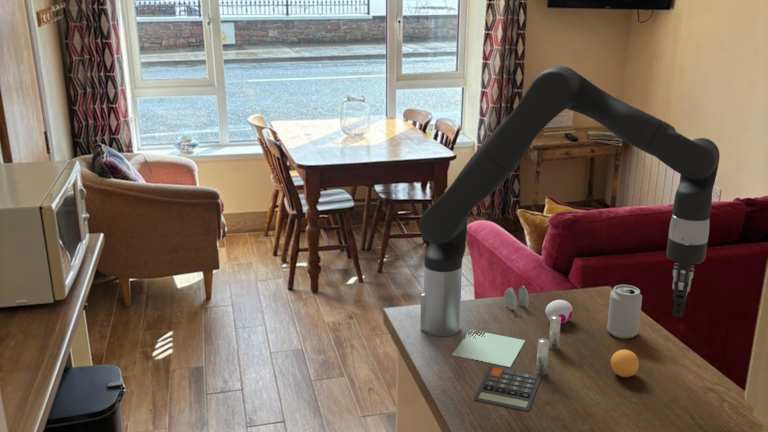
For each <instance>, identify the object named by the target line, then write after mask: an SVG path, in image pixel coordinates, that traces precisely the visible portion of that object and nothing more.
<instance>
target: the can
mask: <svg viewBox="0 0 768 432" xmlns="http://www.w3.org/2000/svg"><path fill="white" fill-rule="evenodd" d="M642 303H643V295H642V294H641V290H640V289H639V288H638V287H636V286H635V285H634V286H633V285H629V284H618V285H615V286H614V287H613V289H612V291H611V292H610V295H609V303H608V304H609V305H608V314H607V324H606V330H607V331H608V332H609V333H610V335H612V336H613V337H615V338H618V339H623V340H624V339H625V340H626V339H632V338H634V337H636V336H637V335H638V334H639V328H640V321H641V312H642V311H641V310H642Z"/></svg>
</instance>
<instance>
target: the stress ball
mask: <svg viewBox="0 0 768 432" xmlns="http://www.w3.org/2000/svg"><path fill="white" fill-rule="evenodd" d="M572 306H573V305H572V304H570V302H568V301H566V300H564V299H556V300H552V301H550V303H549V304H547V306H546V307H545V312H544V314H545V318H546V319H547V320H548V321H549V322H550V320H551V316H553V315H557V316H560V317H561V324H562V325H564V326H567V327H568V325H567V324H566V323H567V322H568V321H569V320H570V319H571V318H572V317H573V314H574V310H573V307H572Z"/></svg>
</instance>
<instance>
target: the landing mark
mask: <svg viewBox="0 0 768 432" xmlns="http://www.w3.org/2000/svg"><path fill="white" fill-rule="evenodd" d="M471 330H473V329H470V330H469V331H471ZM473 332H474V330H473ZM482 332H483V333H484V331H482ZM483 333H482V334H483ZM472 334H473V333H472ZM472 334H471V335H472ZM479 334H480V333H479ZM479 334H478V335H479ZM482 334H481V335H480V336H478V335H476V334H474V335H473V336H471V335H469V336H468V333H466V335H465V337H466V338H465V337H464V338H465V339H464V338H463V339H462V340H461V342H460V343H459V345H458V346H457V347H456V349H455V350H454V351H453V352H452V354H451V355H452V356H453V357H458V358H463V359H468V360H472V359H473V361H476V360H478V362H481V361H483V362H482V363H487V364H492V365H497V366H501V367H506V368H511V367H512V365H513V364H514V362H515V360H516V359H517V356H518V355H519V353H520V351H521V350H522V348H523V346H524V345H525V343H526V340H524V339H520V338H515V337H510V336H505V335H499V334H494V333H490V332H489V333H488V332H485V334H484V335H483V336H482ZM475 335H476V336H475ZM467 336H468V337H467ZM470 336H471V337H470ZM474 336H475V337H474ZM481 336H482V337H481ZM484 336H485V337H484ZM469 337H470V338H469ZM473 337H474V338H473ZM475 338H476V339H475Z"/></svg>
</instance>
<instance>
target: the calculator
mask: <svg viewBox="0 0 768 432" xmlns="http://www.w3.org/2000/svg"><path fill="white" fill-rule="evenodd" d="M541 380H542V376H541V375H538V374H536V373H535V374H534V373H530V372H525V371H518V370H513V369H507V368H502V367H496V366H493V365H492V366H490V367H489V369H488V370H487V372H486V374H485V375H484V378H483V380H482V382H481V384H480V386H479V387H478V390H477V392H476V394H475V395H474V397H473V401H474V402H478V403H479V402H480V403H483V404H488V405H493V406H497V407H498V406H499V407H504V408H508V409H512V410H517V411H523V412H529V411H530V409H531V405H532V403H533V401H534V399H535V395H536V393H537V390H538V388H539V385H540V382H541Z"/></svg>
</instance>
